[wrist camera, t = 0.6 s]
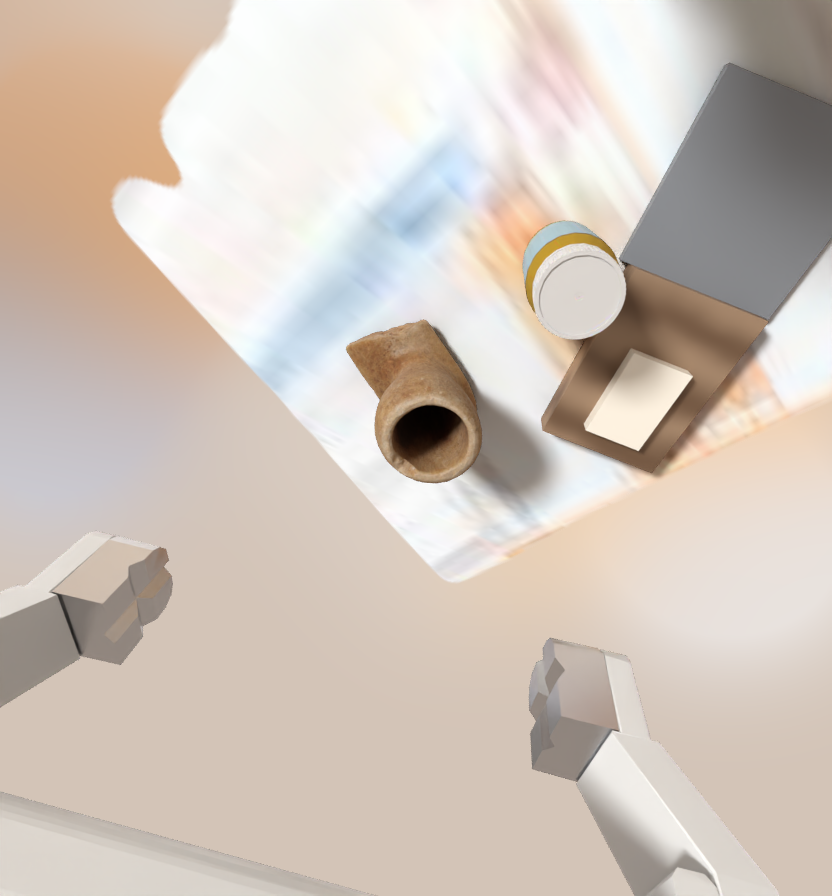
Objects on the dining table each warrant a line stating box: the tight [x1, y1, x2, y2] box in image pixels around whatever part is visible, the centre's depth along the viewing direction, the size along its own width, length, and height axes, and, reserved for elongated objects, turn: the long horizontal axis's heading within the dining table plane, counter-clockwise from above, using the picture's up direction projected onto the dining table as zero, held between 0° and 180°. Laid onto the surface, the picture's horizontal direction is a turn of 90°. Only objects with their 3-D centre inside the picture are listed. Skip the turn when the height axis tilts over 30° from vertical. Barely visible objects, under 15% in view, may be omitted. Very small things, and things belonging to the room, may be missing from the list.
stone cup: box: [346, 319, 482, 483], centre depth 47 cm, size 15×12×15 cm
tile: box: [584, 348, 693, 451], centre depth 48 cm, size 9×6×2 cm, turn 161°
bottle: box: [523, 221, 626, 339], centre depth 39 cm, size 7×7×15 cm
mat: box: [619, 63, 832, 320], centre depth 40 cm, size 15×15×1 cm
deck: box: [541, 263, 768, 473], centre depth 48 cm, size 18×13×3 cm
